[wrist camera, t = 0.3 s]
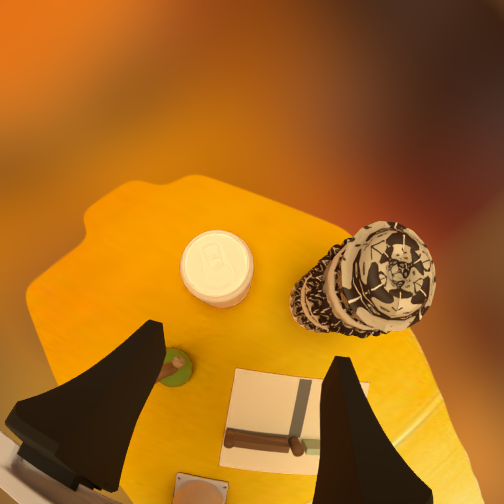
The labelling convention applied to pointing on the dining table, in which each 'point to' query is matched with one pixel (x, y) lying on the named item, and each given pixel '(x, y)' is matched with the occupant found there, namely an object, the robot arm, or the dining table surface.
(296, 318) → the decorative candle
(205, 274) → the beverage can
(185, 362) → the snail figurine
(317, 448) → the fence gate
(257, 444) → the base
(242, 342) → the dining table surface
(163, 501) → the dining table surface
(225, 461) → the card
